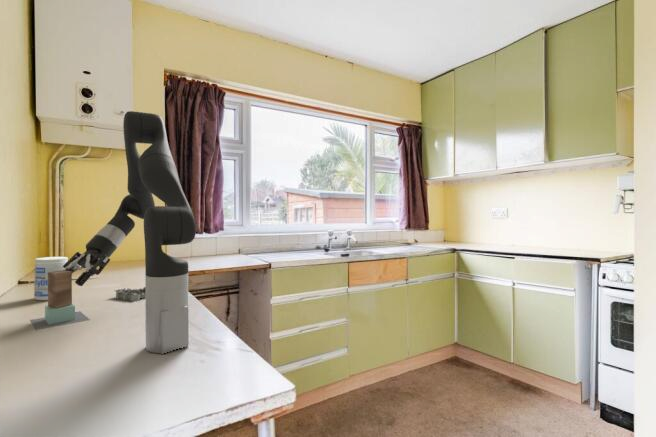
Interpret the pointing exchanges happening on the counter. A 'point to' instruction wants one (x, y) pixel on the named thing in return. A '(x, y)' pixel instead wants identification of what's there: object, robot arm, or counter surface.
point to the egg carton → (131, 294)
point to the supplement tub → (46, 274)
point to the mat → (43, 324)
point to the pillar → (59, 289)
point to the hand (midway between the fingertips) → (68, 283)
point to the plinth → (59, 314)
